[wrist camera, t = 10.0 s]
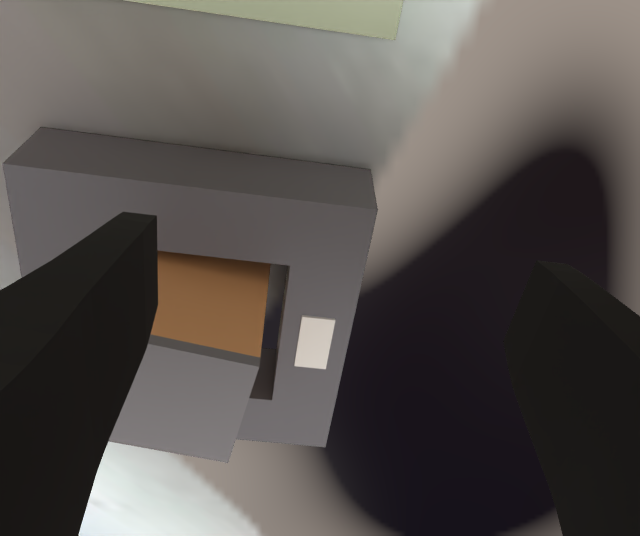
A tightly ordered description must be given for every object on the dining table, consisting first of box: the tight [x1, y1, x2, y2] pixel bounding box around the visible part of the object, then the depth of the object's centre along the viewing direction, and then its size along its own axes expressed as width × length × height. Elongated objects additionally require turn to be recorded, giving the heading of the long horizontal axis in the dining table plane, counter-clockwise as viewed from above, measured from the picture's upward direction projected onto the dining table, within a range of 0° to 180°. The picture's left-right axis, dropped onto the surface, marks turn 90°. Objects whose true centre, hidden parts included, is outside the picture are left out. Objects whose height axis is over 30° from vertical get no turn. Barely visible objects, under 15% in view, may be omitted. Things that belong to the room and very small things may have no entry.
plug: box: [109, 251, 271, 463], centre depth 21 cm, size 4×4×7 cm
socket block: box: [3, 127, 378, 447], centre depth 23 cm, size 12×12×3 cm
